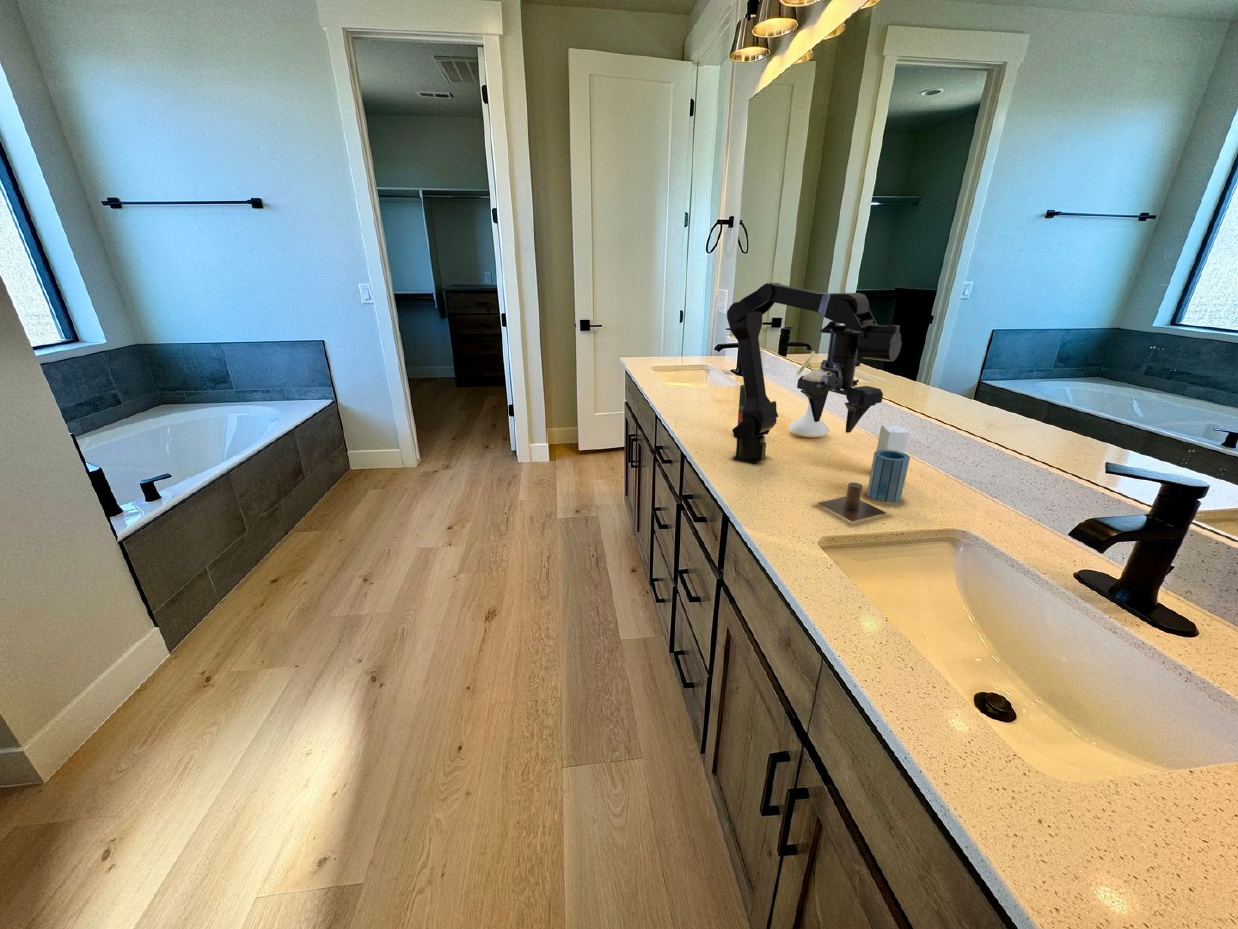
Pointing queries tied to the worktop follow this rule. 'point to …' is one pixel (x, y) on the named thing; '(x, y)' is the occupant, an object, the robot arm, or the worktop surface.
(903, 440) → the cosmetic box
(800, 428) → the flower in vase
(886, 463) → the blue slatted cup
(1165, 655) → the worktop surface
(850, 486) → the walnut stand
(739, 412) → the deodorant
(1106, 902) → the worktop surface
